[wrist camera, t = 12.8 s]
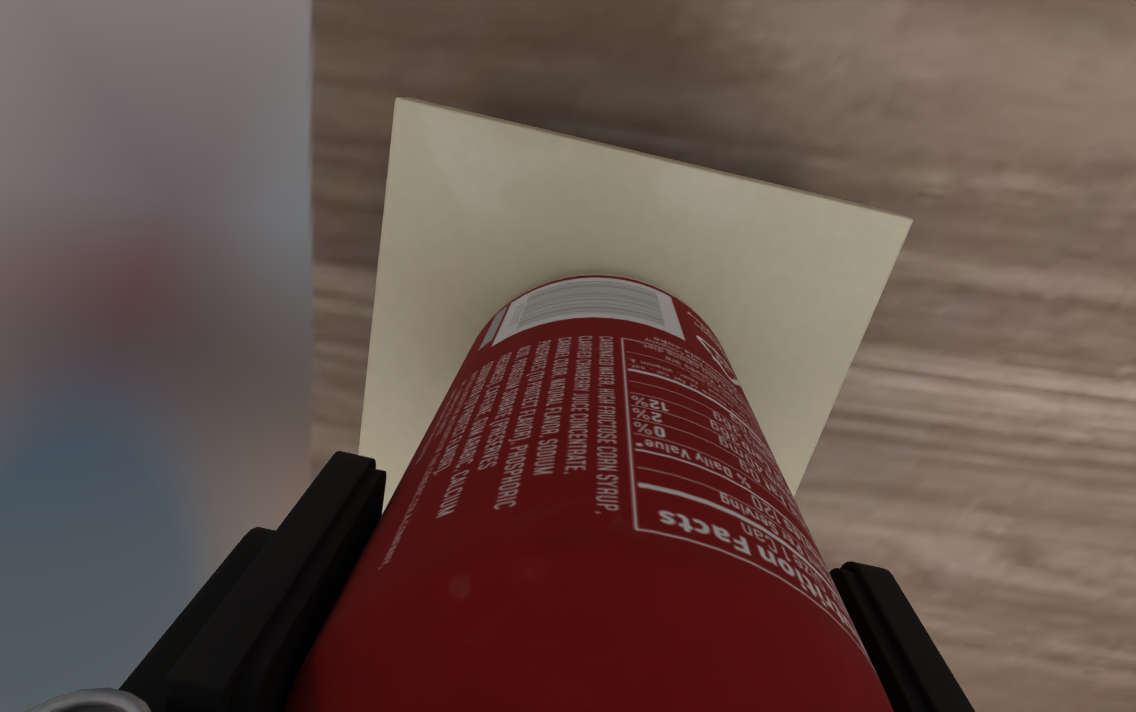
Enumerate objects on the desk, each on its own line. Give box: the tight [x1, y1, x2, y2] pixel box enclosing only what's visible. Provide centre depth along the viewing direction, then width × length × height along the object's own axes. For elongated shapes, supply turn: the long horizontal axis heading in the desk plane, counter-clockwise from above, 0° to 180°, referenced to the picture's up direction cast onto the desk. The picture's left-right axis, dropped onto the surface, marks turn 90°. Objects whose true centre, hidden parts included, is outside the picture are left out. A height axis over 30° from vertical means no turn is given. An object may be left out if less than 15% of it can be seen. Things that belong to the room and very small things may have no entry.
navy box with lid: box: [358, 97, 913, 514], centre depth 19 cm, size 12×12×6 cm
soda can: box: [283, 273, 894, 712], centre depth 11 cm, size 7×7×12 cm
